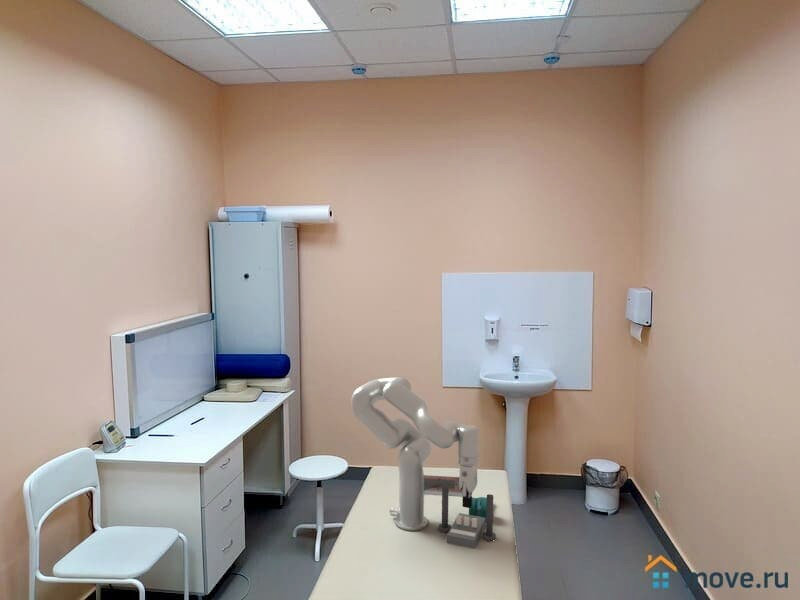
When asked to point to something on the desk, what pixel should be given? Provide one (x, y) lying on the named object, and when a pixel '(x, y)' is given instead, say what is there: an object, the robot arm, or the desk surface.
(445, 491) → the post left
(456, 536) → the breaker panel
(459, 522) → the breaker bank
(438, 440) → the robot arm
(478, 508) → the teal block
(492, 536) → the post right
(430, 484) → the picture frame
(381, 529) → the desk surface
